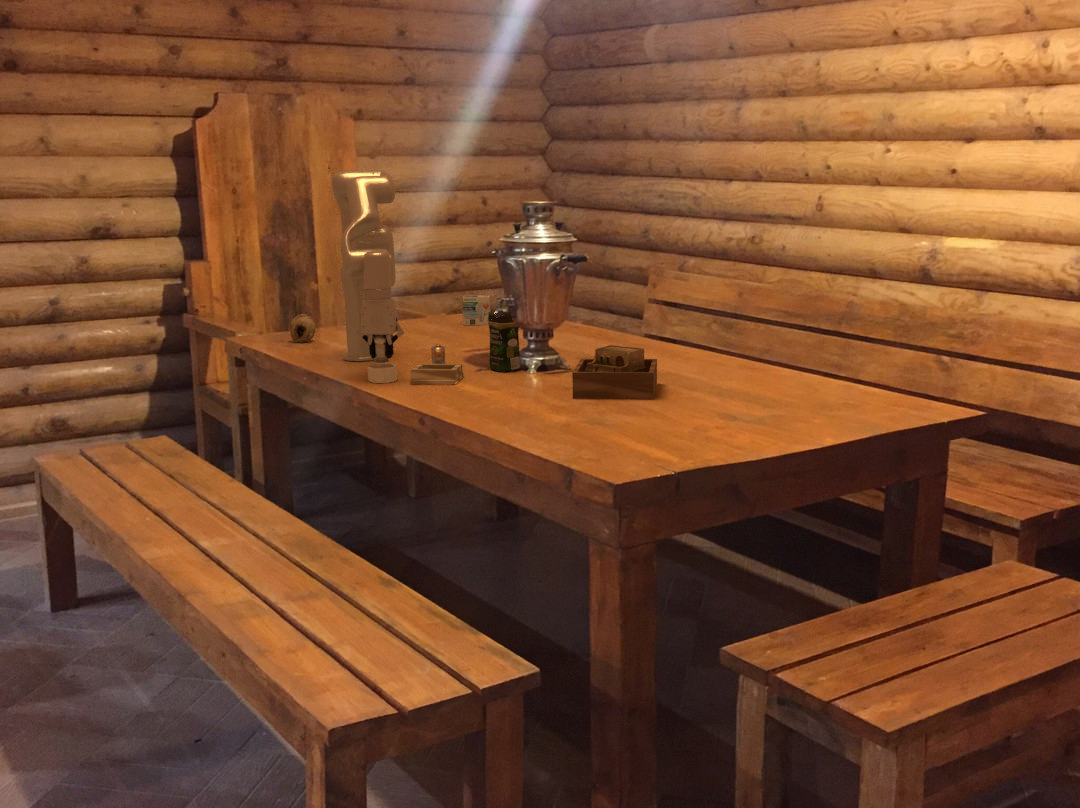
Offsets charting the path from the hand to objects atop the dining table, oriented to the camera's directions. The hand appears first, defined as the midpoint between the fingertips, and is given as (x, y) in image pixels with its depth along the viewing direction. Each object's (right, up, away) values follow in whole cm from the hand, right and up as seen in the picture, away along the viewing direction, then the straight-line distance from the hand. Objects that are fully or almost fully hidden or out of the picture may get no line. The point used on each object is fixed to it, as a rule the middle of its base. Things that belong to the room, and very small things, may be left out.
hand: (381, 357), depth 335 cm
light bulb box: (+22, +17, +106) cm, 110 cm away
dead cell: (0, -1, 0) cm, 1 cm away
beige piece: (0, -7, +2) cm, 7 cm away
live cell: (+16, -4, +11) cm, 20 cm away
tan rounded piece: (-38, +8, +74) cm, 83 cm away
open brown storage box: (+67, -10, -19) cm, 70 cm away
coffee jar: (+35, -3, +14) cm, 38 cm away
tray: (+16, -7, 0) cm, 17 cm away
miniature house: (+66, -10, -18) cm, 69 cm away
